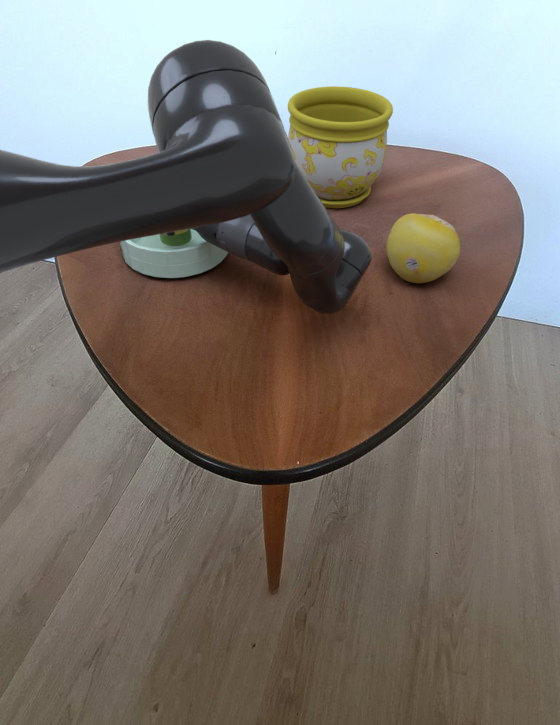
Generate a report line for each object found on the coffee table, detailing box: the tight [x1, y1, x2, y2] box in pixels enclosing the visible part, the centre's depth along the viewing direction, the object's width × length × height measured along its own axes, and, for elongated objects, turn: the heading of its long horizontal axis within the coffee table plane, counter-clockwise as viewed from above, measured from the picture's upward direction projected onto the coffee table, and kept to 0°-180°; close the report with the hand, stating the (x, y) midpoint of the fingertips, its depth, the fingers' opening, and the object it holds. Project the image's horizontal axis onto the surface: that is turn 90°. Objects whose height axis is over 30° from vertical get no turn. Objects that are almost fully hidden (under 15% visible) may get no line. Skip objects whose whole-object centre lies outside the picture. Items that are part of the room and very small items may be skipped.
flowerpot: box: [287, 85, 394, 209], centre depth 100 cm, size 18×18×16 cm
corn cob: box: [160, 229, 192, 246], centre depth 84 cm, size 5×5×14 cm
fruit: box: [386, 212, 461, 284], centre depth 83 cm, size 10×11×10 cm
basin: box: [119, 229, 229, 279], centre depth 89 cm, size 17×17×6 cm
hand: (158, 189), depth 85 cm, fingers closed on corn cob, 5 cm apart
